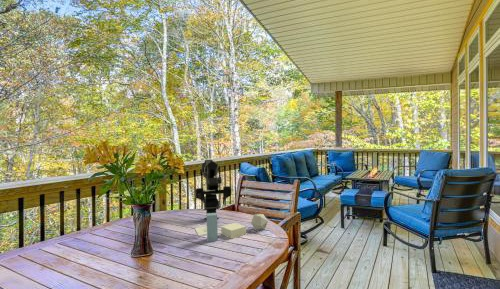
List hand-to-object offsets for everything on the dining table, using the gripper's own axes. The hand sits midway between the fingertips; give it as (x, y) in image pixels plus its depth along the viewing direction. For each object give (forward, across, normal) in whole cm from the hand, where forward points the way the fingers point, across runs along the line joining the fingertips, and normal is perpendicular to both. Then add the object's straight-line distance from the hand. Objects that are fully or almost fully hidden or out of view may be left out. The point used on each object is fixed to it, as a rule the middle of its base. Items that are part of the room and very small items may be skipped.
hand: (214, 205), depth 150 cm
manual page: (+5, -5, +15) cm, 17 cm away
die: (+9, +24, +12) cm, 28 cm away
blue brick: (+16, -2, +6) cm, 17 cm away
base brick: (+12, +9, +9) cm, 18 cm away
